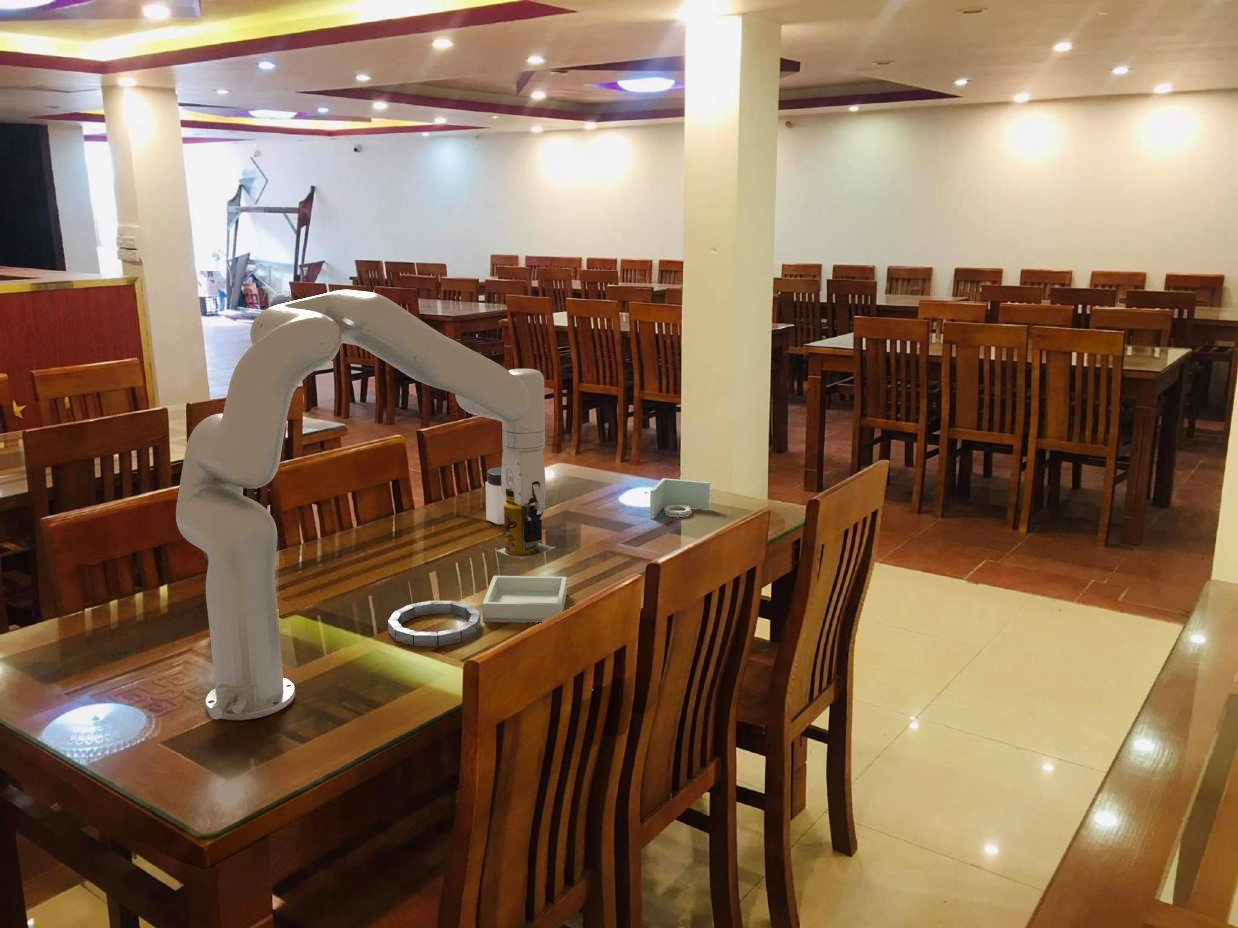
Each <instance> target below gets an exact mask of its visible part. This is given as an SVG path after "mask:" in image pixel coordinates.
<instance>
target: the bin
mask: <svg viewBox="0 0 1238 928" xmlns="http://www.w3.org/2000/svg"><path fill="white" fill-rule="evenodd" d="M567 579H568V578H567V576H537V575H536V576H532V575H530V576H529V575H525V576H524V575H493V576H492V578H491V581H490V584H489V586H488V589H487V591H486V593H485V595H484V599H483V602H482V603H481V604H482V605H481V606H482V607H481V608H482V622H483V623H523V624H524V623H526V624H527V622H530V623H531V624H533V623H532V622H535V624H537V623H538V622H541V621H543V620H544V619H547V618H550V617H551V616H554V615H556V614H558V613H560V612H562V611H563V610H565V606H566V600H567V599H566V598H567V593H568V591H567V588H568V587H567V586H568V580H567ZM563 612H564V611H563ZM536 621H538V622H536ZM538 624H539V623H538Z"/></svg>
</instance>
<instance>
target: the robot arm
mask: <svg viewBox="0 0 1238 928" xmlns="http://www.w3.org/2000/svg"><path fill="white" fill-rule="evenodd" d="M249 333H250V334H249V335H250V341H251V344H252V345H251V347H249V348H248V349H247V350H246V352H244V354H243V355H242V356H241V358H240V359H239V361H238V362H237V364H236V366H235V368H234V369H233V373H232V375H231V378H230V380H229V381H230V382H229V384H228V385H229V386H228V389H227V395H226V399H225V402H224V406H223V412H222V413H215V414H212V415H209V416H207V417H206V418H204V419H203V420H202V421H200V422H198V424H197V425H196V426H195V427H194V428H193V431H192V432H191V434H190V436H189V437H188V440H187V443H186V447H185V452H184V457H183V462H182V463H183V464H182V469H181V475H180V481H179V487H178V494H177V499H176V507H175V509H176V510H175V518H176V519H175V521H176V526H177V529H178V530H179V532H180V534H181V535H182V537H183V538H184V539H185V540H186V541H187V542H189V543H190V544H192V545H193V546H195V547H196V548H198V549H200V550H201V551H202V552H203V553H204V552H206V553H207V555H208V571H207V572H206V579H205V598H206V601H205V602H206V609H207V616H208V618H207V619H208V627H209V636H210V646H211V648H210V649H211V656H212V657H211V659H212V665H213V666H212V670H213V679H214V688H213V689H212V690H210V692H209V693H208V694H207V695H206V697H205V701H204V704H205V708H206V709H205V710H206V711H207V713H208V714H209V716H210V718H212V720H213V719H214V720H219V719H221V720H227V721H246V720H253V719H259V718H264V717H267V716H269V715H272V714H275V713H277V712H279V711H281V710H283V709H284V708H286V707H287V706H289V705H290V704H291V703H292V702H293V700H294V698H295V697H296V688H295V684H294V683H293V681H290V680H289V679H288V678H284V675H283V674H284V673H283V672H284V671H283V660H282V647H281V638H280V637H281V636H280V625H279V624H280V621H279V610H278V598H277V588H276V557H277V549H278V548H277V547H278V530H277V525H276V522H275V519H274V518H273V516H272V515H271V513H270V512H269V510H268V509H267V508H266V507H264V506H263V505H262V504H261V503H259V502H258V501H255V500H254V499H252V498H250V497H248V496H245V495H244V494H243V493H244V492H243V491H244V489H249V490H251V489H259V488H262V487H265V486H266V485H268V484H270V482H271V481H272V480H273V479H274V478H275V476H276V474H277V472H278V469H279V466H280V462H281V458H282V457H281V455H282V450H283V444H284V439H285V432H286V427H287V419H288V414H289V410H290V406H291V401H292V398H293V396H294V393H295V391H296V389H297V388H298V387H299V385H300V384H301V383H302V381H304V379H306V378H307V377H308V375H311V373H313V372H315V371H317V370H319V369H320V368H323V367H324V366H326V365H328V364H329V363H330V362H331V361H333V360H334V359H335V357H336V356H337V354H338V353H339V350H340V347H341V345H342V344H346V345H352V346H356V347H357V346H358V347H359V348H361V349H363V350H365V351H367V352H369V353H370V354H372V355H374V356H375V357H377V358H379V359H380V360H382V361H384V362H386V363H387V364H389V365H390V366H392V367H394V368H395V369H397V370H399V371H400V372H401V373H403V374H405V375H406V376H407V377H409V378H411V379H413V380H414V381H417V382H420V383H422V384H425V385H427V386H430V387H432V388H435V389H438V390H443V391H446V392H449V393H452V394H454V395H455V400H456V402H457V405H459V407H460V408H461V409H463V410H464V411H465V412H467V413H468V414H471V415H475V416H477V417H481V418H487V419H492V420H496V421H498V422H501V425H502V427H501V428H502V429H501V430H502V431H501V432H502V434H501V436H502V439H501V440H502V455H501V456H502V457H501V467H502V472H501V492H502V494H503V495H504V496H505V497H506V489H507V488H508V489H510V490H511V491H513V493H514V503H516V504H517V505H519V506H524V510H525V516H526V520H524V541H526V542H532V541H538V542H539V541H541V540H542V537H543V532H542V531H543V530H542V529H543V528H542V527H543V526H542V523H543V522H542V520H543V514H544V510H545V509H546V502H545V500H546V492H547V491H546V490H547V489H546V471H545V470H546V469H545V459H544V458H545V457H544V450H543V449H545V448H546V428H545V427H546V425H545V424H546V421H545V419H546V416H545V413H546V412H545V406H546V405H545V376H544V374H543V373H542V372H541V371H540V370H537V369H534V368H514V369H509V370H508V369H506V368H505V367H504V366H502V365H500V364H499V363H498V362H495V361H494V360H492V359H490V358H488V357H486V356H484V355H482V354H480V353H478V352H477V351H475V350H474V349H473V350H472V349H470V348H469V347H467V346H465V345H463V344H462V343H460V342H458V341H456V340H454V339H452V338H450V337H447V336H446V335H445V334H442V333H441V332H440V331H438V330H436V329H435V328H433V327H432V326H430V325H428V324H427V323H426V322H424V321H422V320H421V319H419V318H418V317H417V316H415V315H413V314H412V313H410V312H409V311H407V310H406V309H405V308H403V307H402V306H400V305H398V304H397V303H396V302H394V301H392V299H389V298H388V297H386V296H384V295H383V294H382V295H381V294H379V293H376V292H372V291H363V290H353V289H341V290H333V291H331V292H330V291H329V292H326V293H323V294H322V293H321V294H318V295H314V296H309V297H305V298H302V299H297V300H293V301H292V300H291V301H289V302H283V303H280V304H276V305H273V306H270V307H268V308H265V309H264V310H262V311H261V312H260V313H258V314H257V316H255V318H254V320H253V322H252V324H251V328H250V331H249ZM533 499H534V501H535V502H533V503H528V502H529V500H533ZM532 506H535V508H534V509H532V511H531V512H530V508H529V507H532Z"/></svg>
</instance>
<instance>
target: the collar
mask: <svg viewBox="0 0 1238 928" xmlns="http://www.w3.org/2000/svg"><path fill="white" fill-rule="evenodd" d="M427 615H453V616H457V617H461V618H464V619H466V620H467V622H465V623H463V624H461V625H459V626H457V627H456V628H451V629H450V628H449V629H446V630H440V631H417V630H413V629H410V628H406V627H403V626H402V624H404V623H406V622H408V621H410V620H412V619H413V618H417V617H422V616H427ZM480 626H481V612H480V611H479V610H477V609H476V607H474V606H473V605H471V604H469V603H468V604H467V603H464V602H460V601H457V600H437V599H436V600H434V599H433V600H426V601H421V602H417V603H411V604H407V605H405V606H403V607H401V608H399V609H397V610H394V611H393V613H392V614H391V616H390V617H389V618H388V620H387V627H388V634H389V635H390V636H391V637H392V639H393V640H394V639H395V640H394V641H395V642H398V641H399V642H398V643H401V642H402V644H405V645H408V644H409V645H408V646H411V645H412V646H411V647H434V648H436V647H437V648H438V647H443V646H447V645H453V644H457V643H462V642H464V641H466V640H468V639H469V638H471V637H473V636H475V635H477V634H478V632H479V630H480ZM413 645H414V646H413Z"/></svg>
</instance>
